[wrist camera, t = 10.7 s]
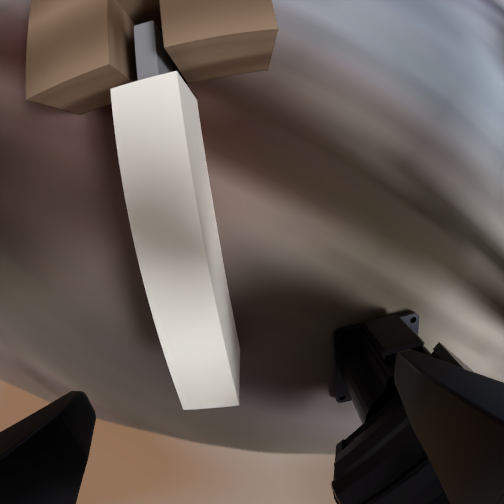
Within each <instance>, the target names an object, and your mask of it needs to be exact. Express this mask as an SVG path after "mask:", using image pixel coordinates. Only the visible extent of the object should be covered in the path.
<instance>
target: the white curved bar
mask: <svg viewBox="0 0 504 504" xmlns="http://www.w3.org/2000/svg"><path fill="white" fill-rule="evenodd" d="M134 39H135V53H136V66H137V77H138V81H135V82H131V83H128V84H124V85H121V86H118V87H115V88H112V89H110V91H111V102H112V112H113V121H114V130H115V138H116V145H117V152H118V159H119V166H120V172H121V178H122V184H123V190H124V196H125V201H126V206H127V212H128V217H129V222H130V227H131V231H132V236H133V241H134V245H135V250H136V254H137V258H138V262H139V267H140V271H141V275H142V279H143V283H144V286H145V290H146V294H147V298H148V301H149V305H150V309H151V312H152V316H153V319H154V323H155V326H156V329H157V333H158V336H159V339H160V343H161V346H162V349H163V352H164V355H165V358H166V361H167V364H168V367H169V370H170V373H171V376H172V379H173V382H174V385H175V388H176V391H177V393H178V396H179V399H180V402H181V404H182V407H183V410H191V409H206V408H219V407H230V406H239V381H240V346H239V341H238V336H237V331H236V326H235V321H234V316H233V311H232V306H231V301H230V295H229V290H228V285H227V280H226V274H225V269H224V263H223V258H222V252H221V247H220V241H219V235H218V230H217V224H216V218H215V212H214V207H213V201H212V195H211V189H210V183H209V177H208V170H207V164H206V158H205V152H204V145H203V139H202V132H201V126H200V119H199V112H198V105H197V100H196V98H195V97H194V95H193V94H192V92H191V91H190V89H189V88H188V86H187V85H186V83H185V82H184V81H183V79H182V78H181V76H180V75H179V73H178V72H177V71H173V62H172V59H171V57H170V56H169V54H168V53H167V51H166V50H165V48H164V41H163V35H162V33H161V31H160V30H159V28H158V27H157V25H156V23H155V22H154V20H153V21H149V22H146V23H142V24H139V25H135V26H134Z"/></svg>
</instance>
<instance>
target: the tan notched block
mask: <svg viewBox="0 0 504 504" xmlns="http://www.w3.org/2000/svg"><path fill="white" fill-rule="evenodd" d="M153 20H154V22H155V23H156V25H157V27H158V28H160V27H162V32H163V41H164V48H165V50H166V51H167V53H168V54H169V56H170V57H171V59H172V60H173V62H174V63H175V65H176V66H177V68H178V69H179V71H180V72H181V74H182V75H183V77H184V78H185V80H186V81H187V83H192V82H197V81H202V80H207V79H213V78H218V77H224V76H230V75H237V74H243V73H250V72H258V71H266V70H268V68H269V64H270V60H271V56H272V52H273V48H274V44H275V40H276V36H277V32H278V26H277V21H276V17H275V13H274V9H273V5H272V1H271V0H32V1H31V8H30V16H29V25H28V36H27V52H26V100H29V101H33V102H37V103H41V104H44V105H48V106H52V107H55V108H59V109H62V110H66V111H69V112H73V113H76V114H79V115H81V114H84V113H86V112H89V111H92V110H95V109H98V108H101V107H104V106H107V105H110V104H112V102H111V91H110V89H112V88H115V87H118V86H121V85H124V84H128V83H131V82H135V81H138V77H137V66H136V53H135V39H134V26H135V25H139V24H142V23H146V22H149V21H153Z"/></svg>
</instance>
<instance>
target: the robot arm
mask: <svg viewBox="0 0 504 504" xmlns="http://www.w3.org/2000/svg"><path fill="white" fill-rule="evenodd" d="M412 317H414V318H413V320H411V318H412ZM410 320H411V321H410ZM418 328H419V316H418V314H417V313H415V312H414V311H412V312H407V313H404V314H400V315H397V314H393V315H389V316H385V317H381V318H377V319H372V320H368V321H364V322H363V323H362V324H357V325H353V326H348V327H343V328H339V329H336V330H335V331H334V333H333V355H334V382H335V398H336V401H337V402H339V403H342V402H347V401H351V400H352V401H353V403H354V405H355V408H356V410H357V412H358V415H359V417H360V419H361V421H362V424H363V425H361V426H360V427H359V428H358V429H357V430H356V431H355V432H353V433H352V434H351V435H350V436H349V437H348V438H346V439H345V440H342V441H341V442H339V443H338V444H337V445H336V457H335V463H334V468H335V469H334V480H333V481H332V489H333V494H334V499H335V501H336V503H337V504H504V383H503V382H500V381H497V380H494V379H491V378H488V377H485V376H483V375H480V374H477V373H474V372H473V371H472V370H471V369H470V368H469V367H468V366H466V365H465V364H464V363H463V362H462V361H461V360H460V359H458V358H457V357H456V356H455V355H454V354H453V353H451V352H450V351H449V350H448V349H447V348H446V347H444V346H443V345H442V344H441V343H440V342H439V343H438V344H437V345H436V346H435V348H434V349H433V350H434V351H433V353H432V354H431V353H430V352H429V351H428V350H427V348H426V347H425V346H424V342H423V341H422V339H421V338H420V337H419V336H418ZM340 334H343V336H342V337H341V338H338V336H339V335H340ZM342 395H344V396H343V397H340V396H342ZM95 421H96V414H95V411H94V409H93V407H92V405H91V403H90V401H89V399H88V397H87V395H86V394H85V393H84V392H82V391H71V392H69V393H67V394H66V395H64V396H62V397H61V398H59V399H57V400H55V401H54V402H52V403H50V404H49V405H47V406H45V407H44V408H42V409H40V410H38V411H37V412H35V413H33V414H32V415H30V416H28V417H26V418H24V419H23V420H21V421H19V422H18V423H16V424H14V425H12V426H11V427H9V428H7V429H5V430H3V431H2V432H0V504H76V501H77V497H78V493H79V490H80V486H81V482H82V478H83V475H84V471H85V468H86V464H87V461H88V456H89V451H90V446H91V441H92V436H93V430H94V425H95Z"/></svg>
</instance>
